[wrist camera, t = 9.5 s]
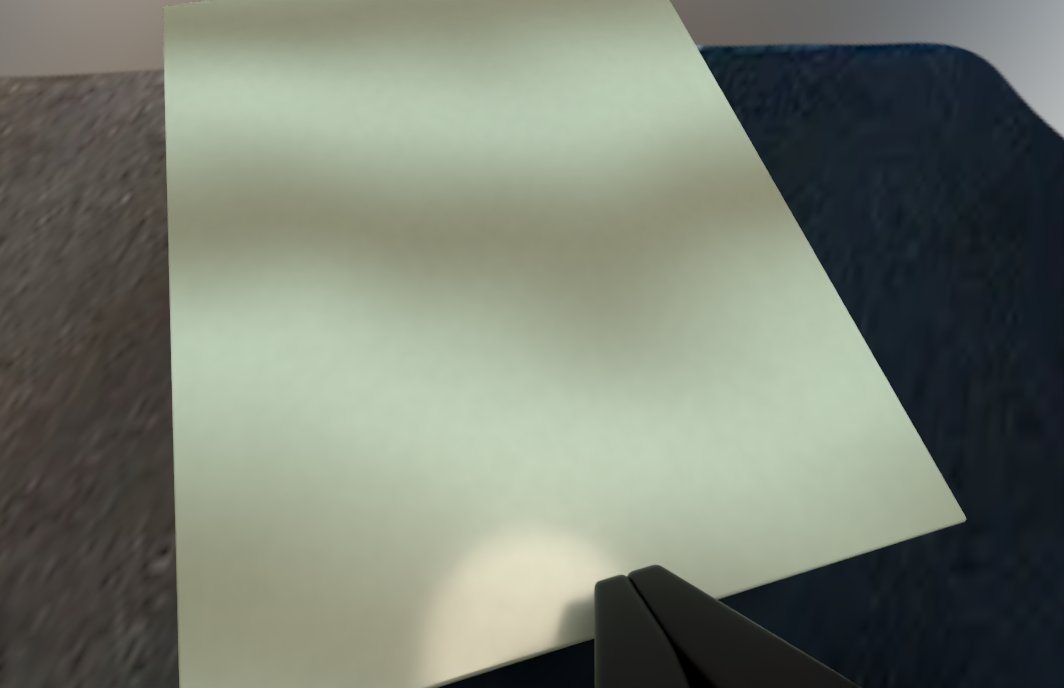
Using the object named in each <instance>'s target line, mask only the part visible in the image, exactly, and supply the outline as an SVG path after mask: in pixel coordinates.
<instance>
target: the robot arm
mask: <svg viewBox="0 0 1064 688" xmlns="http://www.w3.org/2000/svg"><path fill="white" fill-rule="evenodd" d="M594 627H595V688H862V687H860V686H859V685H857V684H855V683H854V682H852V681H850V680H849V679H847V678H845V677H844V676H842V675H840V674H839V673H837V672H835V671H834V670H832V669H831V668H829V667H827V666H826V665H824V664H822V663H821V662H819V661H817V660H816V659H814V658H812V657H811V656H809V655H807V654H806V653H804V652H803V651H801V650H799V649H798V648H796V647H794V646H793V645H791V644H789V643H788V642H786V641H784V640H783V639H781V638H779V637H778V636H776V635H774V634H773V633H771V632H770V631H768V630H766V629H765V628H763V627H761V626H760V625H758V624H756V623H755V622H753V621H751V620H750V619H748V618H746V617H745V616H743V615H741V614H740V613H738V612H737V611H735V610H733V609H732V608H730V607H728V606H727V605H725V604H723V603H722V602H720V601H718V600H717V599H715V598H713V597H712V596H710V595H709V594H707V593H705V592H704V591H702V590H700V589H699V588H697V587H695V586H694V585H692V584H690V583H689V582H687V581H685V580H684V579H682V578H680V577H679V576H677V575H676V574H674V573H672V572H671V571H669V570H667V569H666V568H664V567H662V566H660V565H650V566H647V567H644V568H640V569H637V570H634V571H631V572H630V573H629V574H628V575H627V576H625V575H622V574H621V575H617V576H614V577H610V578H607V579H604V580H600V581H598V582H597V583H596V584H595V588H594Z"/></svg>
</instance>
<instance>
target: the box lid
mask: <svg viewBox="0 0 1064 688" xmlns="http://www.w3.org/2000/svg"><path fill="white" fill-rule="evenodd" d="M163 43H164V44H163V45H164V85H165V125H166V166H167V206H168V246H169V287H170V327H171V367H172V408H173V448H174V488H175V528H176V569H177V609H178V649H179V688H438V687H442V686H445V685H448V684H451V683H454V682H457V681H461V680H464V679H467V678H470V677H473V676H477V675H480V674H483V673H486V672H489V671H492V670H496V669H499V668H502V667H505V666H508V665H511V664H515V663H518V662H521V661H524V660H527V659H531V658H534V657H537V656H540V655H543V654H546V653H550V652H553V651H556V650H559V649H562V648H566V647H569V646H572V645H575V644H578V643H581V642H585V641H588V640H591V639H594V638H595V627H594V588H595V584H596V583H597V582H598V581H600V580H604V579H607V578H610V577H614V576H617V575H621V574H622V575H625V576H627V575H628V574H629V573H630V572H631V571H634V570H637V569H640V568H644V567H647V566H650V565H660V566H662V567H664V568H666V569H667V570H669V571H671V572H672V573H674V574H676V575H677V576H679V577H680V578H682V579H684V580H685V581H687V582H689V583H690V584H692V585H694V586H695V587H697V588H699V589H700V590H702V591H704V592H705V593H707V594H709V595H710V596H712V597H713V598H715V599H717V600H718V599H721V598H724V597H728V596H731V595H734V594H737V593H740V592H743V591H747V590H750V589H753V588H756V587H759V586H763V585H766V584H769V583H772V582H775V581H778V580H782V579H785V578H788V577H791V576H794V575H797V574H801V573H804V572H807V571H810V570H813V569H817V568H820V567H823V566H826V565H829V564H832V563H836V562H839V561H842V560H845V559H848V558H851V557H855V556H858V555H861V554H864V553H867V552H871V551H874V550H877V549H880V548H883V547H886V546H890V545H893V544H896V543H899V542H902V541H906V540H909V539H912V538H915V537H918V536H921V535H925V534H928V533H931V532H934V531H937V530H940V529H944V528H947V527H950V526H953V525H956V524H960V523H963V522H965V521H966V517H965V515H964V513H963V511H962V510H961V508H960V506H959V504H958V503H957V501H956V499H955V498H954V496H953V494H952V492H951V491H950V489H949V487H948V485H947V484H946V482H945V480H944V478H943V477H942V475H941V473H940V471H939V470H938V468H937V466H936V464H935V463H934V461H933V459H932V457H931V456H930V454H929V452H928V450H927V449H926V447H925V445H924V443H923V442H922V440H921V438H920V436H919V435H918V433H917V431H916V429H915V428H914V426H913V424H912V422H911V421H910V419H909V417H908V415H907V414H906V412H905V410H904V408H903V407H902V405H901V403H900V401H899V400H898V398H897V396H896V395H895V393H894V391H893V389H892V388H891V386H890V384H889V382H888V381H887V379H886V377H885V375H884V374H883V372H882V370H881V368H880V367H879V365H878V363H877V361H876V360H875V358H874V356H873V354H872V353H871V351H870V349H869V347H868V346H867V344H866V342H865V340H864V339H863V337H862V335H861V333H860V332H859V330H858V328H857V326H856V325H855V323H854V321H853V319H852V318H851V316H850V314H849V312H848V311H847V309H846V307H845V305H844V304H843V302H842V300H841V298H840V297H839V295H838V293H837V292H836V290H835V288H834V286H833V285H832V283H831V281H830V279H829V278H828V276H827V274H826V272H825V271H824V269H823V267H822V265H821V264H820V262H819V260H818V258H817V257H816V255H815V253H814V251H813V250H812V248H811V246H810V244H809V243H808V241H807V239H806V237H805V236H804V234H803V232H802V230H801V229H800V227H799V225H798V223H797V222H796V220H795V218H794V216H793V215H792V213H791V211H790V209H789V208H788V206H787V204H786V202H785V201H784V199H783V197H782V195H781V194H780V192H779V190H778V189H777V187H776V185H775V183H774V182H773V180H772V178H771V176H770V175H769V173H768V171H767V169H766V168H765V166H764V164H763V162H762V161H761V159H760V157H759V155H758V154H757V152H756V150H755V148H754V147H753V145H752V143H751V141H750V140H749V138H748V136H747V134H746V133H745V131H744V129H743V127H742V126H741V124H740V122H739V120H738V119H737V117H736V115H735V113H734V112H733V110H732V108H731V106H730V105H729V103H728V101H727V99H726V98H725V96H724V94H723V93H722V91H721V89H720V87H719V86H718V84H717V82H716V80H715V79H714V77H713V75H712V73H711V72H710V70H709V68H708V66H707V65H706V63H705V61H704V59H703V58H702V56H701V54H700V52H699V51H698V49H697V47H696V45H695V44H694V42H693V40H692V38H691V37H690V35H689V33H688V31H687V30H686V28H685V26H684V25H683V23H682V21H681V19H680V17H679V16H678V14H677V13H676V11H675V9H674V7H673V5H672V3H671V2H670V0H206V1H199V2H192V3H185V4H178V5H170V6H164V7H163Z"/></svg>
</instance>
